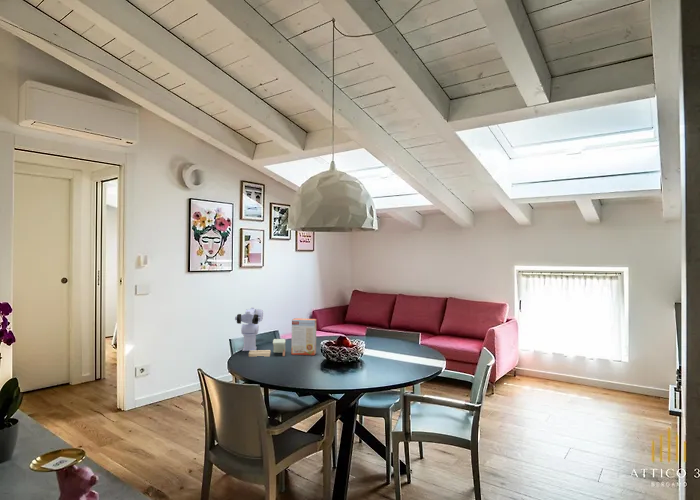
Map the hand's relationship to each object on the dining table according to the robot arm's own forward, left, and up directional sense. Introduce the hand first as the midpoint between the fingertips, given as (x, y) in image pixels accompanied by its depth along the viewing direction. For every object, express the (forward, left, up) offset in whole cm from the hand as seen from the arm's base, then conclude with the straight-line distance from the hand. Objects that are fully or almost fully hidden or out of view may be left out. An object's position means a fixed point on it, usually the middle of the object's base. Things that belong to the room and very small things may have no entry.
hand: (245, 321), depth 248 cm
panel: (-5, +8, -21) cm, 23 cm away
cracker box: (-7, +33, -21) cm, 40 cm away
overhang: (-6, +19, -20) cm, 28 cm away
